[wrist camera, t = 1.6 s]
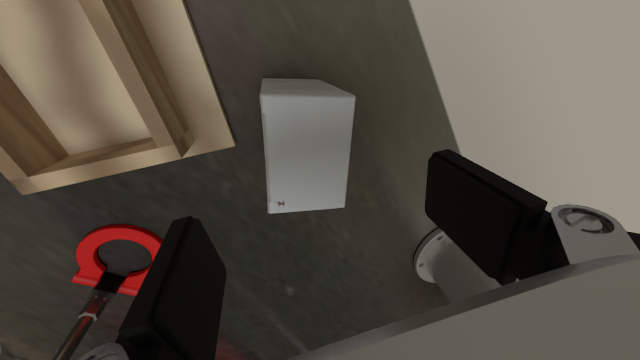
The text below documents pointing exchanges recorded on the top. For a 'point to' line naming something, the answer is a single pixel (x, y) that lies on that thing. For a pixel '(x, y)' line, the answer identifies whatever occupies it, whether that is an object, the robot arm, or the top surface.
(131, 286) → the tow hook
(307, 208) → the small box
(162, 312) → the robot arm
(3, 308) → the top surface
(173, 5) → the well
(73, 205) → the top surface
